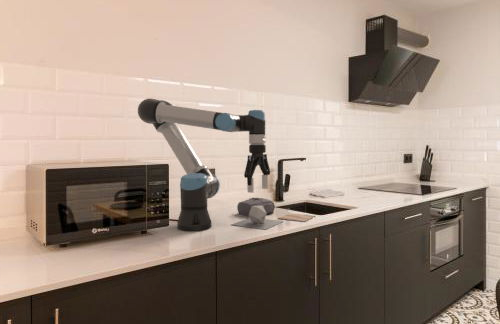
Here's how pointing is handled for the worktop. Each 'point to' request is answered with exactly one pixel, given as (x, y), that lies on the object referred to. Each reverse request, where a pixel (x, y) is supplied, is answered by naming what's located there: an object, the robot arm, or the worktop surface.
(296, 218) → the walnut pad
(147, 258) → the worktop surface
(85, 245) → the worktop surface
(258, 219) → the die
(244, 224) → the tile
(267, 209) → the grey rounded bag
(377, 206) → the worktop surface
